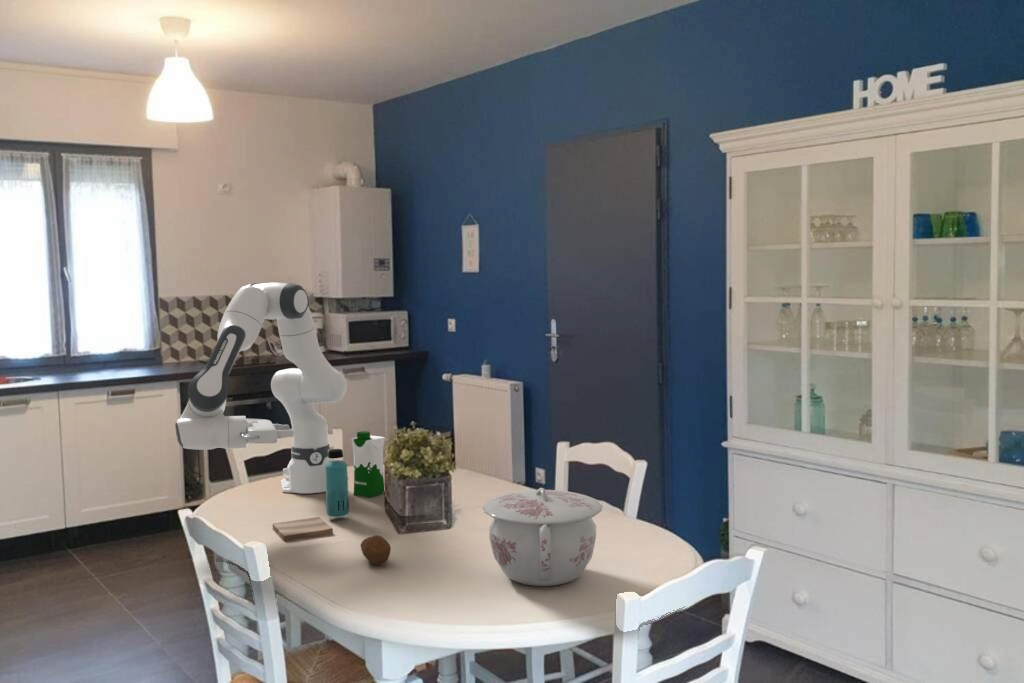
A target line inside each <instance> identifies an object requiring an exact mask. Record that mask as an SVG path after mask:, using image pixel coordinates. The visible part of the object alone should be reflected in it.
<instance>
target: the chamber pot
mask: <svg viewBox="0 0 1024 683" xmlns="http://www.w3.org/2000/svg"><path fill="white" fill-rule="evenodd" d="M481 508H482V510H483V511H484V512H483V513H485V514H486V515H488V516H489V517H491V518H493V519H492V521H491V523H490V525H489V527H488V532H489V534H488V535H489V536H488V537H489V542H490V547H491V551H492V552H491V553H492V554H493V557H494V559H495V561H496V563H497V564H498V566H499V567H500V569H501V570H502V572H503V574H504V575H505V576H507V577H508V578H509V579H510V580H512V581H514V582H517V583H520V584H523V585H527V586H532V585H533V587H554V586H559V585H564V584H566V583H569V582H572V581H575V580H576V579H577V578H579V577H580V576H581V575H582V574H583V572H584V571H585V570H586V568H587V566H588V565H589V563H590V561H591V560H592V558H593V555H594V549H595V545H596V544H595V543H596V539H597V524H596V523H595V522H594V519H593V518H594V517H596V516H597V515H599V514H601V512H602V510H603V505H602V504H601V503H600V501H599V500H597V499H596V498H594V497H591V496H588V495H586V494H582V493H578V492H572V491H566V490H558V489H545V488H543V487H539V488H538V489H528V490H519V491H518V490H517V491H514V492H510V493H504V494H501V495H496V496H494V497H492V498H490V499H488V500H486V502H485V503H484V504H483V506H482V507H481Z"/></svg>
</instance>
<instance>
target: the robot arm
mask: <svg viewBox="0 0 1024 683" xmlns="http://www.w3.org/2000/svg"><path fill="white" fill-rule="evenodd" d="M265 320H271V321H272V320H276V323H277V329H278V335H279V339H280V343H281V347H282V348H281V349H282V353H283V356H284V357H285V359H287V360H288V361H289V362H291V363H292V364H294V365H295V366H296V367H290V368H285V369H279V370H278V371H276V372H275V373H274V375H273V376H272V378H271V380H270V381H271V382H270V388H271V393H272V394H273V396H274V398H276V399H277V400H278V401H279V402H280V403H281V404H282V405H283V407H284V409H285V410H286V413H287V414H288V416H289V421H290V424H291V429H290V425H289V424H279V423H273V422H272V420H269V419H263V418H247V417H246V415H224V412H225V409H226V405H227V398H228V395H229V380H228V378H229V375H230V373H231V371H232V368H233V367H234V366H233V365H234V364H235V361H236V359H237V357H238V355H239V353H240V352H244V351H247V350H249V349H250V348H251V347H252V345H253V344H254V343H255V342H256V340H257V338H258V336H259V334H260V332H261V330H262V327H263V326H264V322H265ZM216 336H217V337H216V338H217V340H216V344H215V346H214V349H213V350H212V352H211V354H210V356H209V358H208V360H207V362H206V364H205V366H204V367H203V369H201V370H200V371H199V372H198V373H197V374H195V375H194V376H193V378H191V380H190V382H189V383H188V387H187V395H188V401H187V404H186V406H185V408H184V410H183V411H182V414H181V415H180V417H179V418H178V419H177V420H175V423H174V424H175V425H174V426H175V434H176V438H177V442H178V444H179V446H180V447H181V448H183V449H187V450H203V451H204V450H208V451H209V450H214V449H217V448H219V449H220V448H221V449H226V450H230V449H231V450H234V449H246V448H247V444H276V443H277V442H278V439H283V438H284V439H285V438H292V446H291V450H290V453H291V454H290V456H291V459H290V460H289V462H288V464H287V467H284V468H282V475H283V476H286V477H284V478H282V479H280V485H281V490H282V493H295V494H317V493H326V492H325V491H326V474H325V465H326V464H327V463H328V462H329V461H333V458H328V455H329V450H331V447H330V444H329V436H328V433H329V432H328V431H329V430H328V428H329V427H328V421H327V420H326V417H324V416H323V415H322V414H320V413H319V412H318V411H317V410H316V408H315V407H314V404H325V405H326V404H331V403H337V402H340V401H342V399H343V398H344V397H345V395H346V393H347V389H348V383H347V380H346V377H345V376H344V375H343V373H341V372H340V371H339V370H337V369H336V368H335V367H334V366H332V364H331V363H330V362H329V361H328V360H327V359H326V356H325V355H324V353H323V352H322V350H321V347H320V345H319V340H318V336H317V331H316V327H315V323H314V318H313V315H312V312H311V309H310V307H309V296H308V293H307V292H306V290H305V288H304V287H303V286H302V285H299V284H297V283H292V282H290V283H285V282H276V281H272V282H263V283H250V284H247V285H244V286H242V287H240V288H239V289H238V290H237V292H235V294H234V295H233V297H232V298H231V300H230V301H229V303H228V305H227V307H226V308H225V310H224V313H223V315H222V317H221V320H220V323H219V327H218V330H217V334H216Z"/></svg>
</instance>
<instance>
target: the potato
mask: <svg viewBox="0 0 1024 683" xmlns="http://www.w3.org/2000/svg"><path fill="white" fill-rule="evenodd" d="M360 550H361V552H362V555H363V556H364V558H366V560H368V562H370V563H371V564H372V565H375V566H381V565H384V564H385V563H386V562H387V561H388V560H389V558H390V555H391V551H392V550H391V545H390V543H389V542H388V540H387V539H385V538H384V537H382V535H377V534H376V535H373V536H369V537H366V538H364V539H363V540H362V541H361V543H360Z"/></svg>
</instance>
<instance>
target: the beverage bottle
mask: <svg viewBox="0 0 1024 683" xmlns="http://www.w3.org/2000/svg"><path fill="white" fill-rule="evenodd" d="M343 457H344V452H343V449H341V448H332V449H330V450H329V455H328V458H331V459H332V460H333V459H335V460H333V461H329V462H328V463H327V464H326V465H325V474H326V491H325V492H324V493H325V511H326V515H327V516H328V517H334V518H337V517H345V516H347V515H348V514H349V511H350V504H349V475H348V464H347V463H346V462H345V460H341V459H342V458H343Z"/></svg>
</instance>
